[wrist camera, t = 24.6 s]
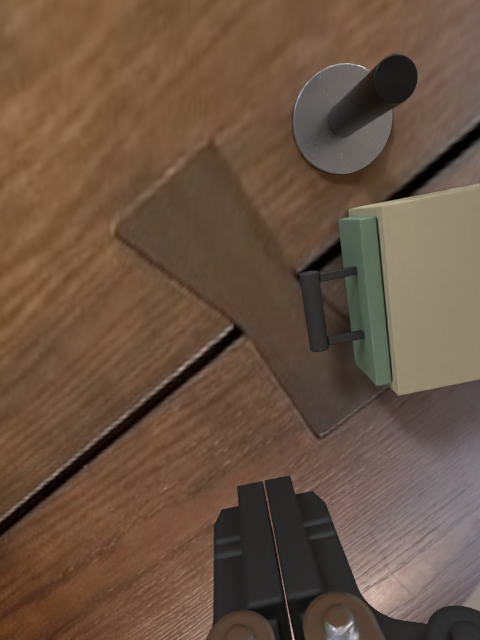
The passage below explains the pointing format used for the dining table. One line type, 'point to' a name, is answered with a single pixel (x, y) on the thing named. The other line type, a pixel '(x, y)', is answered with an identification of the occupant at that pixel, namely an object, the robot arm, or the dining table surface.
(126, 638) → the dining table surface
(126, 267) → the dining table surface
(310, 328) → the drawer
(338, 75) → the paper towel holder
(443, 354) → the cabinet
